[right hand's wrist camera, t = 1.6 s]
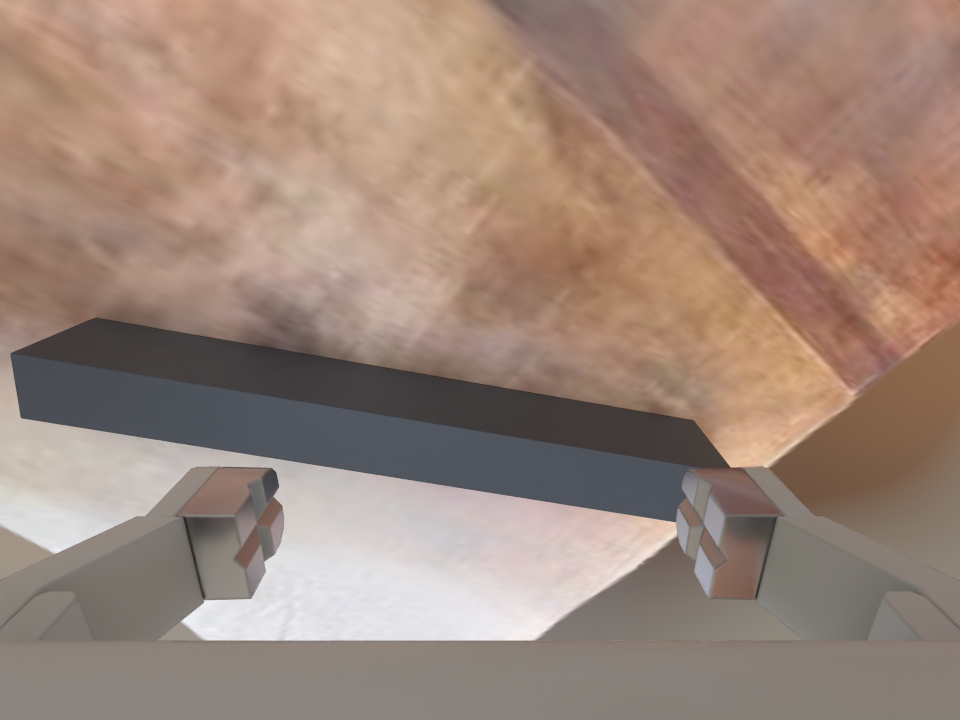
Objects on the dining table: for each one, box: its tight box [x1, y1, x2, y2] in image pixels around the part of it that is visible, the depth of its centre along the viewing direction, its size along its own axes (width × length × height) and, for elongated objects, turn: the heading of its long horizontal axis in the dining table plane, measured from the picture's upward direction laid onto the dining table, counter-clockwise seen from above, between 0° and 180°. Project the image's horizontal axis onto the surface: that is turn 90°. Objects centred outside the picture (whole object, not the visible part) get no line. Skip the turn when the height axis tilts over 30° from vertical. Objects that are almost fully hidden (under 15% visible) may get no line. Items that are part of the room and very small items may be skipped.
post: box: [11, 318, 731, 522], centre depth 44 cm, size 55×5×9 cm, turn 80°
